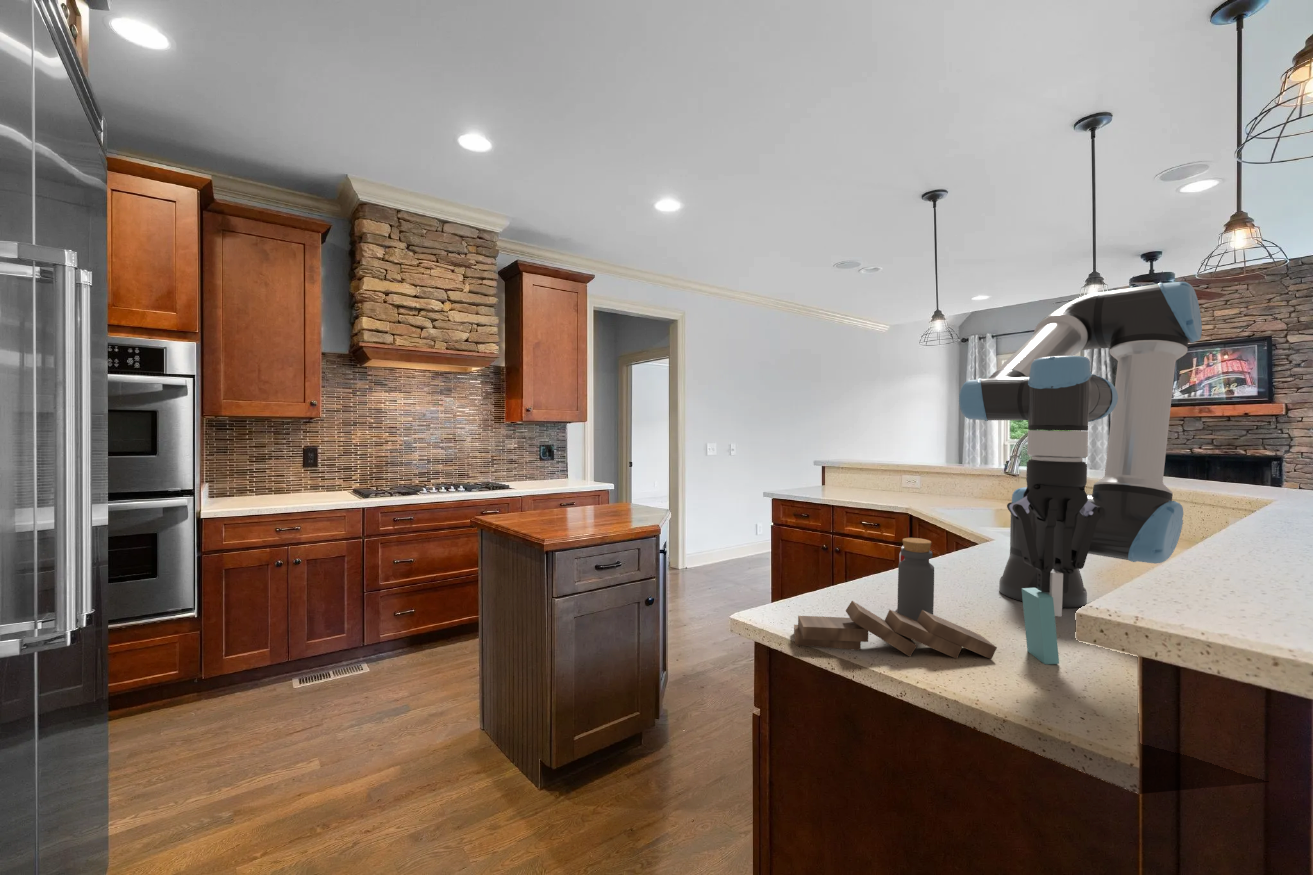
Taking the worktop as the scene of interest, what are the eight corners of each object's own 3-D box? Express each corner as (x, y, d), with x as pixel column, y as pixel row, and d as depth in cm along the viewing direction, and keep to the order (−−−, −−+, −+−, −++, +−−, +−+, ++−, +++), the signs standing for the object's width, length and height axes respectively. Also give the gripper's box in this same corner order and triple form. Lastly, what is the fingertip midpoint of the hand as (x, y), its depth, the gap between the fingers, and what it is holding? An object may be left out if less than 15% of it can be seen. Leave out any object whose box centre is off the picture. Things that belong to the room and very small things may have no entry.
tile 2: (980, 634, 92) (922, 609, 92) (996, 647, 87) (935, 620, 87) (975, 646, 92) (916, 621, 92) (991, 659, 87) (929, 632, 88)
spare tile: (1041, 650, 90) (1035, 587, 90) (1059, 663, 85) (1053, 597, 85) (1027, 650, 90) (1021, 588, 90) (1044, 664, 86) (1038, 598, 85)
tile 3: (948, 634, 92) (889, 609, 93) (962, 647, 87) (900, 620, 88) (943, 646, 92) (884, 620, 93) (956, 658, 87) (894, 631, 88)
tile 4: (906, 634, 92) (852, 600, 93) (917, 645, 87) (859, 610, 88) (899, 644, 93) (845, 610, 94) (909, 656, 88) (852, 621, 89)
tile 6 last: (856, 629, 95) (794, 624, 97) (860, 640, 90) (795, 635, 92) (855, 641, 95) (793, 636, 97) (860, 653, 90) (795, 647, 92)
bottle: (891, 623, 102) (893, 540, 102) (905, 615, 106) (906, 535, 106) (925, 632, 98) (927, 545, 98) (938, 624, 102) (940, 540, 102)
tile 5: (859, 618, 95) (798, 615, 95) (868, 629, 90) (803, 626, 90) (859, 630, 95) (797, 627, 95) (868, 641, 90) (803, 639, 91)
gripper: (1087, 458, 90) (1082, 607, 90) (998, 456, 91) (994, 603, 92) (1120, 461, 82) (1114, 624, 83) (1023, 459, 84) (1018, 619, 84)
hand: (1051, 613), depth 87 cm, fingers closed
